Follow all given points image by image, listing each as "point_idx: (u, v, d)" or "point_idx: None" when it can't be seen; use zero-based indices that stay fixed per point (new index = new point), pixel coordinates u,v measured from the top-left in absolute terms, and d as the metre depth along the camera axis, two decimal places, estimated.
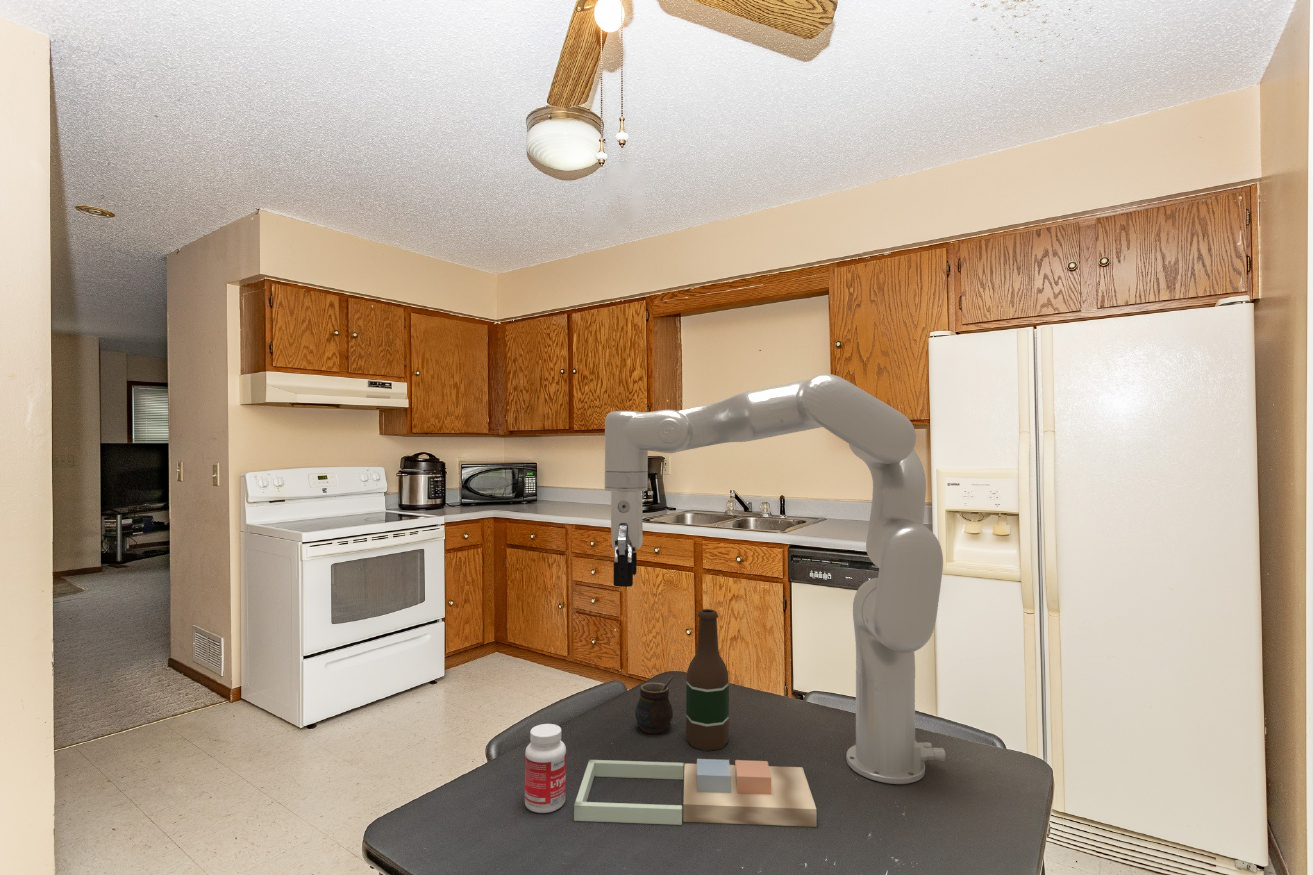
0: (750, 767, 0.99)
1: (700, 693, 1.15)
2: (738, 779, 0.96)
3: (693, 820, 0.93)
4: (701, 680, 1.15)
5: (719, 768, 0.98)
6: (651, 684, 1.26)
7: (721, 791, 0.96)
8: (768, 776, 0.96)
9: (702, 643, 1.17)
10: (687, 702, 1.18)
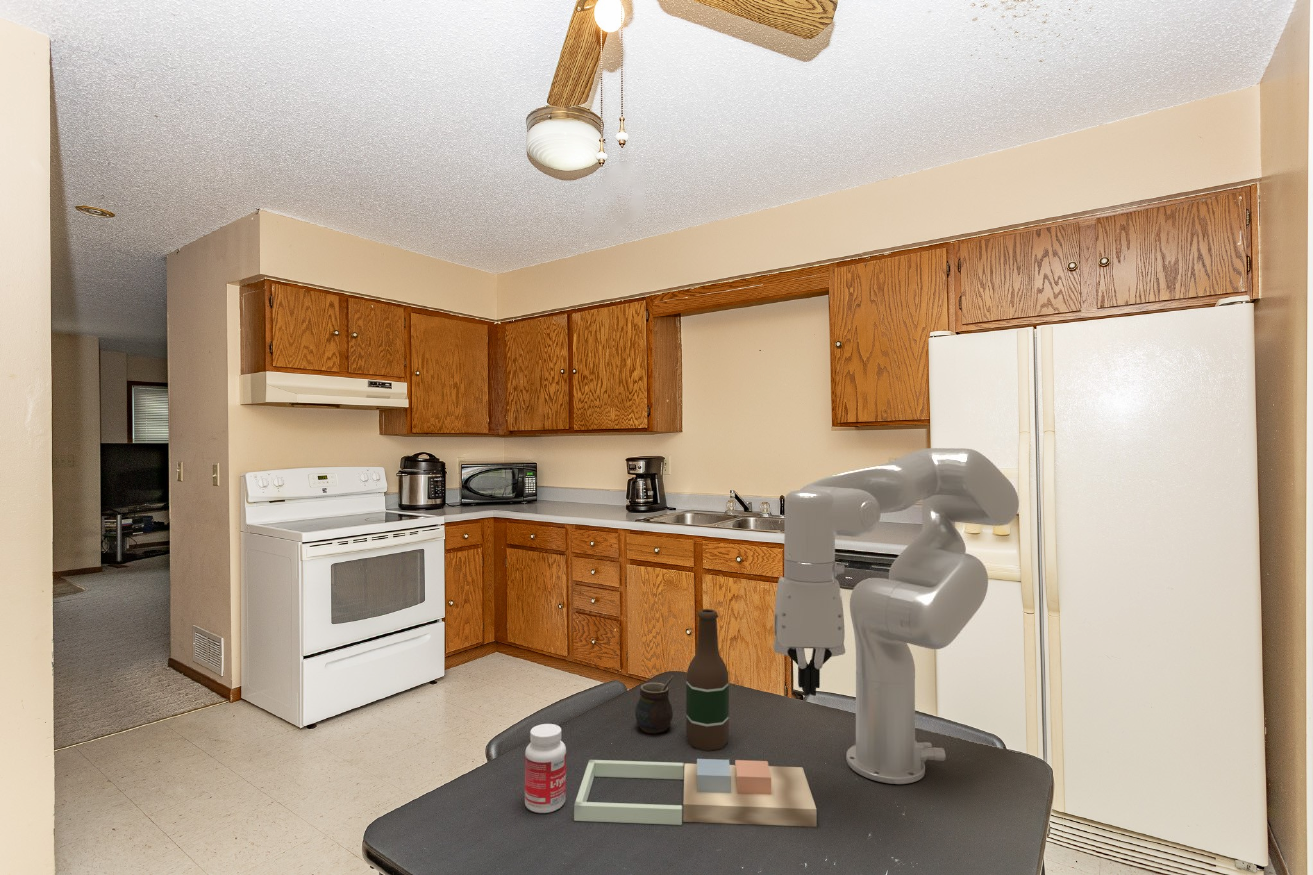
0: (750, 767, 0.99)
1: (700, 693, 1.15)
2: (738, 779, 0.96)
3: (693, 820, 0.93)
4: (701, 680, 1.15)
5: (719, 768, 0.98)
6: (651, 684, 1.26)
7: (721, 791, 0.96)
8: (768, 776, 0.96)
9: (702, 643, 1.17)
10: (687, 702, 1.18)
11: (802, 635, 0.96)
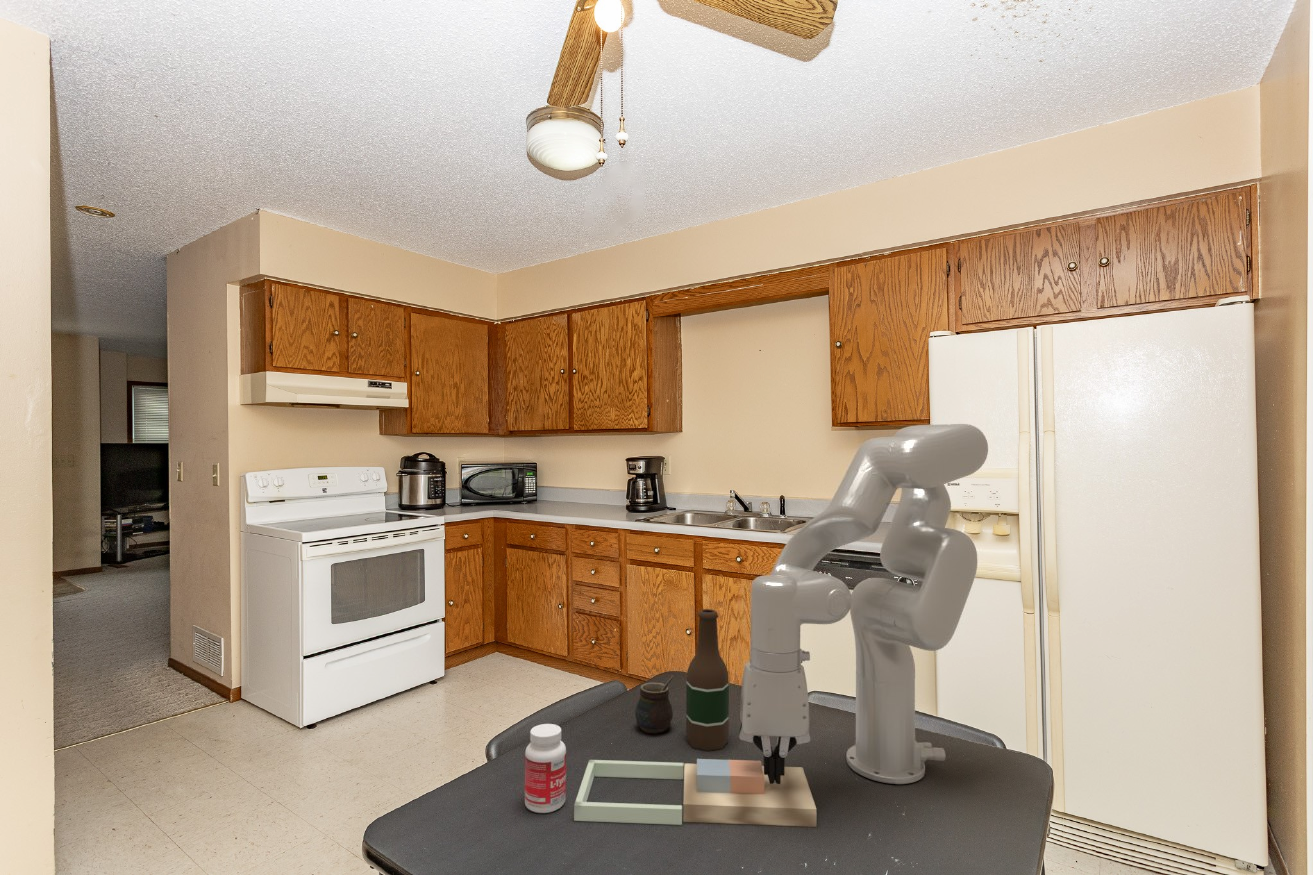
0: (743, 767, 0.99)
1: (700, 693, 1.15)
2: (731, 778, 0.96)
3: (693, 820, 0.93)
4: (701, 680, 1.15)
5: (719, 768, 0.98)
6: (651, 684, 1.26)
7: (721, 791, 0.96)
8: (761, 776, 0.96)
9: (703, 643, 1.17)
10: (687, 702, 1.18)
11: (767, 724, 0.96)
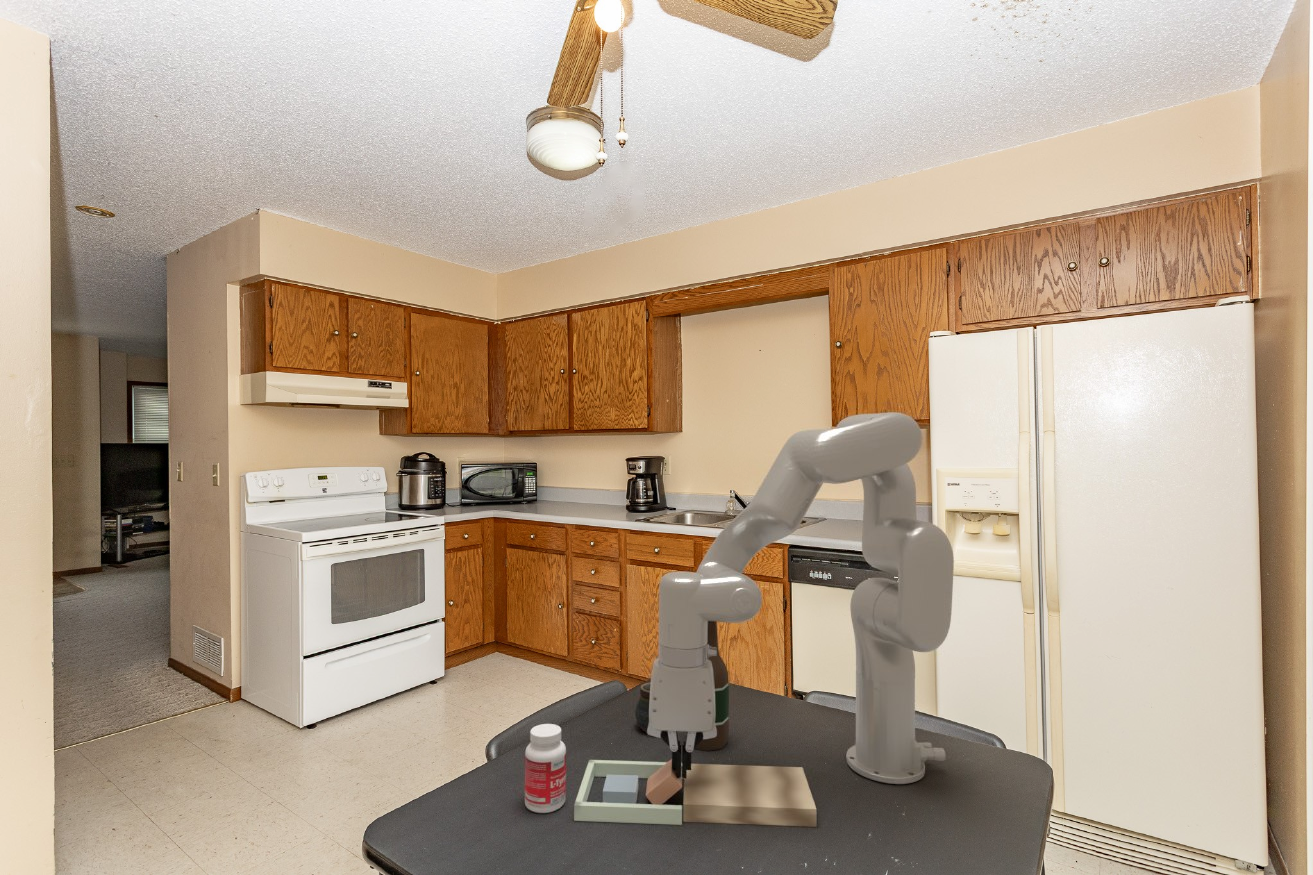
0: (657, 776, 0.99)
1: None
2: (648, 797, 0.97)
3: (693, 820, 0.93)
4: None
5: None
6: None
7: (611, 792, 0.97)
8: (669, 775, 0.97)
9: None
10: None
11: (672, 719, 0.97)
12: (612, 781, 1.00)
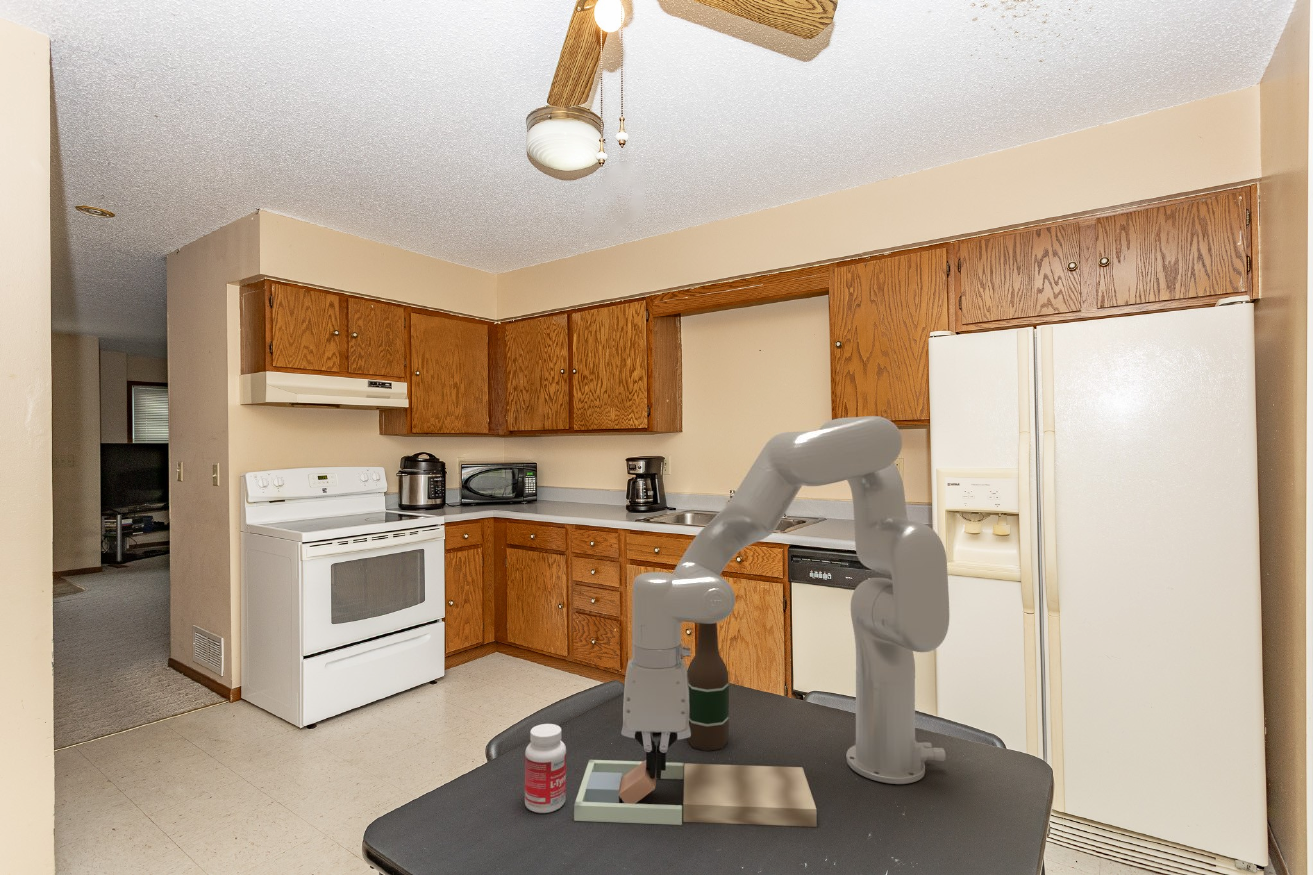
0: (631, 776, 0.99)
1: (700, 693, 1.15)
2: (621, 796, 0.97)
3: (693, 820, 0.93)
4: (701, 680, 1.15)
5: None
6: None
7: (594, 789, 0.97)
8: (642, 776, 0.97)
9: (702, 643, 1.17)
10: None
11: (646, 720, 0.97)
12: (596, 778, 1.00)
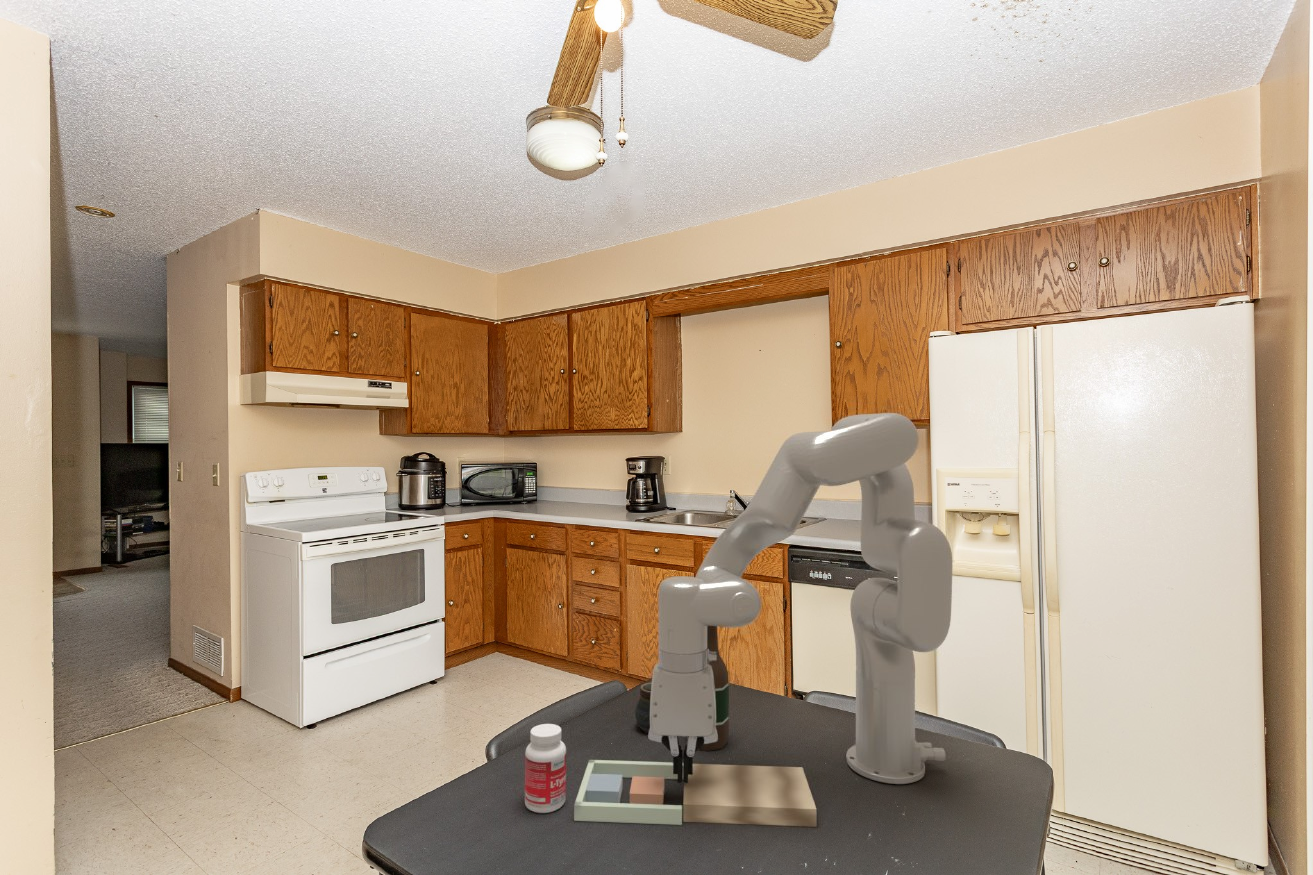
0: (645, 784, 0.99)
1: None
2: (630, 796, 0.97)
3: (693, 820, 0.93)
4: None
5: None
6: (651, 684, 1.26)
7: (594, 791, 0.97)
8: (660, 794, 0.96)
9: None
10: None
11: (673, 724, 0.97)
12: (596, 780, 1.00)
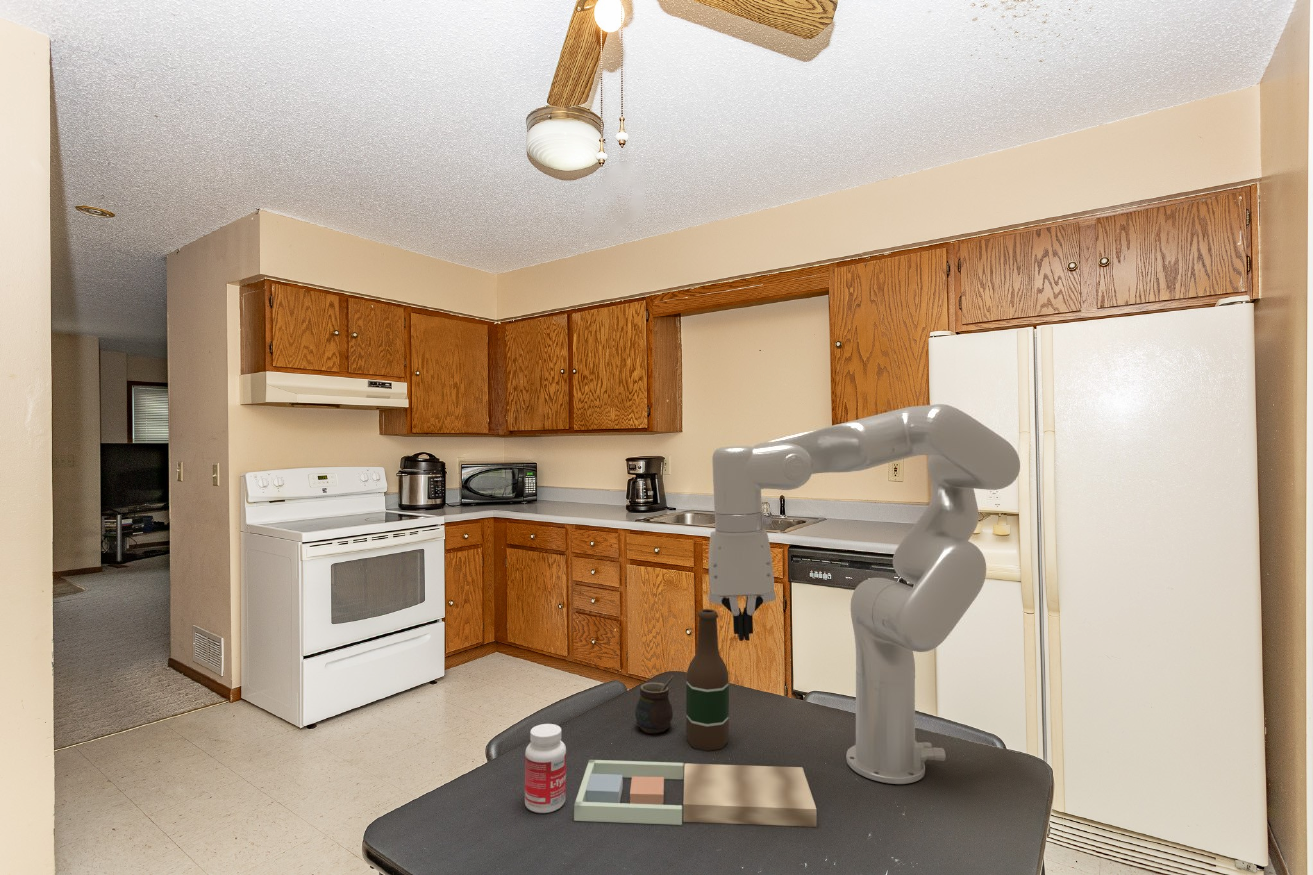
0: (645, 784, 0.99)
1: (700, 693, 1.15)
2: (630, 796, 0.97)
3: (693, 820, 0.93)
4: (701, 680, 1.15)
5: None
6: (651, 684, 1.26)
7: (594, 791, 0.97)
8: (660, 793, 0.97)
9: (702, 643, 1.17)
10: (687, 702, 1.18)
11: (733, 584, 1.01)
12: (596, 780, 1.00)
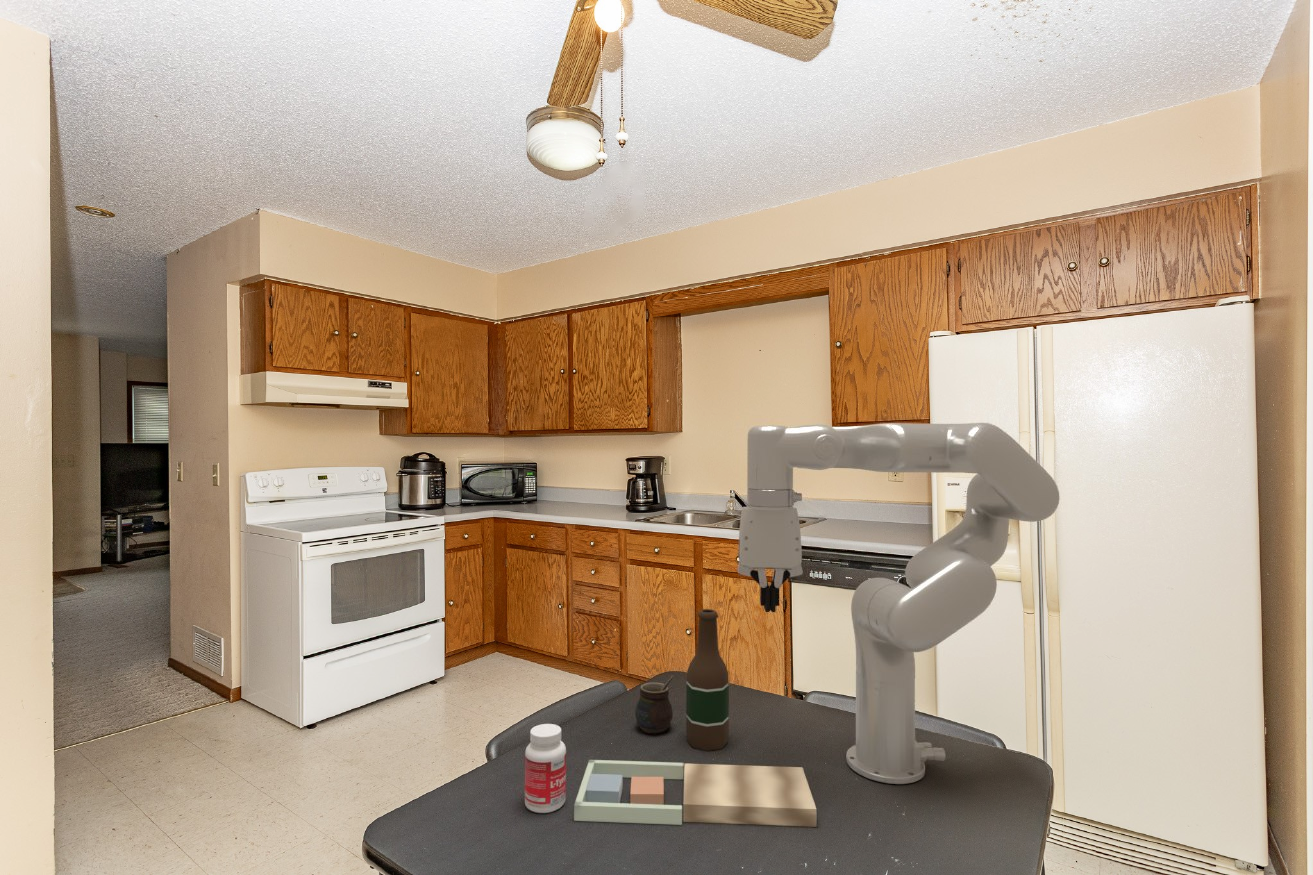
0: (645, 784, 0.99)
1: (700, 693, 1.15)
2: (631, 797, 0.96)
3: (693, 820, 0.93)
4: (701, 680, 1.15)
5: None
6: (651, 684, 1.26)
7: (595, 791, 0.97)
8: (661, 793, 0.97)
9: (702, 643, 1.17)
10: (687, 702, 1.18)
11: (763, 556, 1.05)
12: (596, 780, 1.00)
